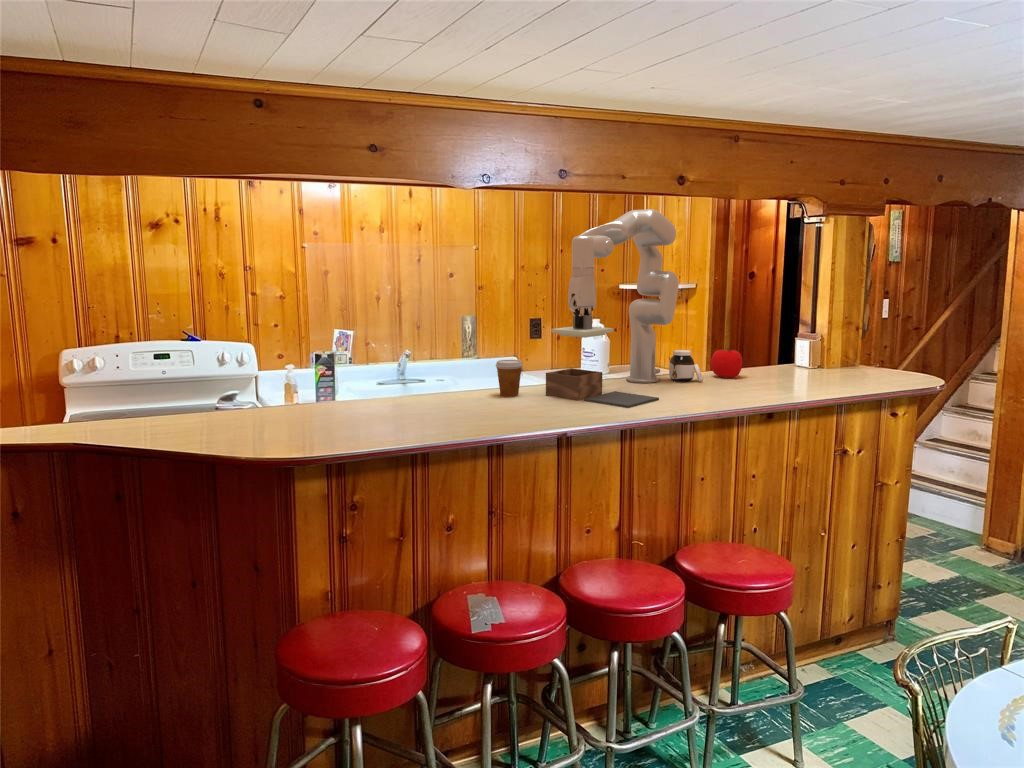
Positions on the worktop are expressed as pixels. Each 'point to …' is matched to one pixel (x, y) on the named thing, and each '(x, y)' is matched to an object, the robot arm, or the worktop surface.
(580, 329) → the lid
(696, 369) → the spread jar
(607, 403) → the mat
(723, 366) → the red apple
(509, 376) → the disposable coffee cup
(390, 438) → the worktop surface
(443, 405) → the worktop surface
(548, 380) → the box
